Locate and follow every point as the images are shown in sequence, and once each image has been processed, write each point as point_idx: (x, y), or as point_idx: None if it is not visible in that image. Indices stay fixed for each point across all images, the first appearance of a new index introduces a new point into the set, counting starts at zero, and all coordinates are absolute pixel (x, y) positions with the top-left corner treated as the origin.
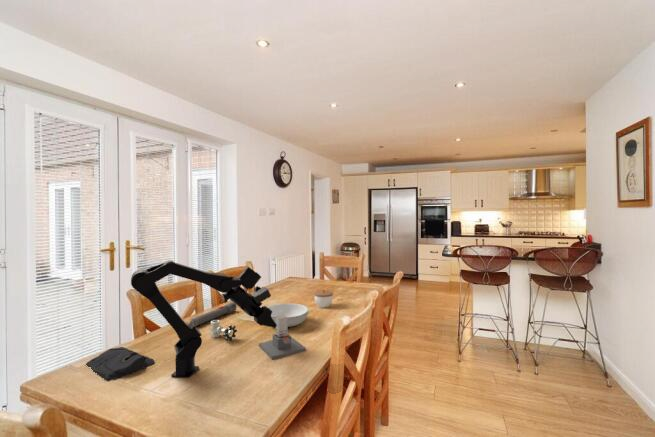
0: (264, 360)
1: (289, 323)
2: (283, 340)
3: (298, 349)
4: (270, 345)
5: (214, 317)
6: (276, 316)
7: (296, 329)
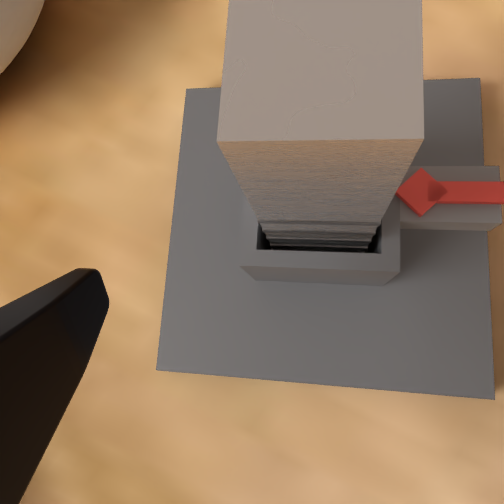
0: (464, 457)
1: (33, 9)
2: (435, 224)
3: (478, 140)
4: (260, 302)
5: None
6: (242, 132)
7: (82, 3)
